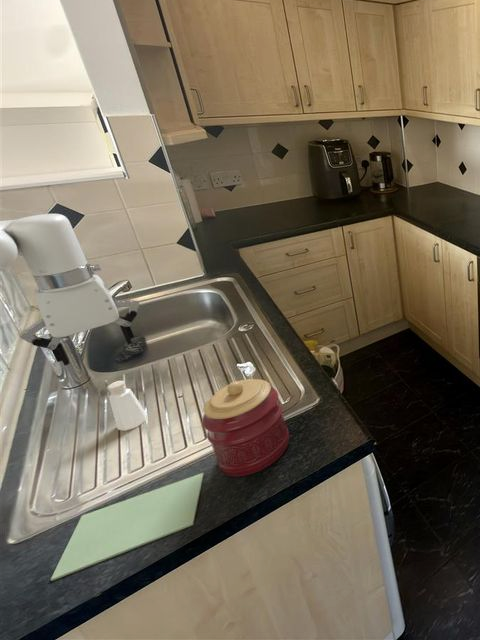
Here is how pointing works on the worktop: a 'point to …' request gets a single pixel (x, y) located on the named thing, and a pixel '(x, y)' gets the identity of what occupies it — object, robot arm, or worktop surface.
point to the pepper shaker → (125, 407)
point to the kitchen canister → (245, 427)
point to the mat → (130, 524)
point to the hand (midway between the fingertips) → (99, 351)
